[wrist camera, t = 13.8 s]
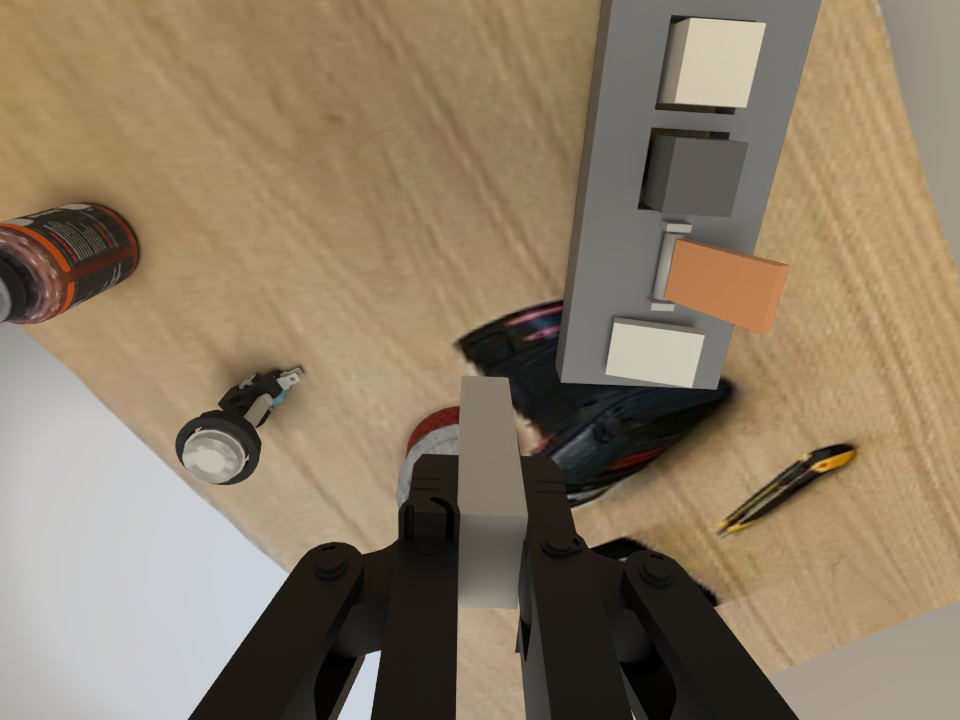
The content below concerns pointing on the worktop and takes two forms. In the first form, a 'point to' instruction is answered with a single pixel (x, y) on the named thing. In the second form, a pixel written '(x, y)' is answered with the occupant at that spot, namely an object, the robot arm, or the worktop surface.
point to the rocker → (654, 352)
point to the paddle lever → (720, 282)
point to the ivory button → (710, 62)
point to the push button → (232, 430)
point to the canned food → (430, 444)
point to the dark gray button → (694, 175)
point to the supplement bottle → (61, 260)
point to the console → (620, 167)
